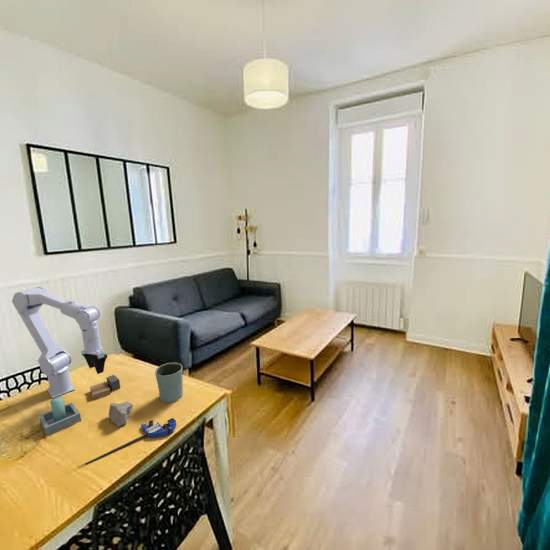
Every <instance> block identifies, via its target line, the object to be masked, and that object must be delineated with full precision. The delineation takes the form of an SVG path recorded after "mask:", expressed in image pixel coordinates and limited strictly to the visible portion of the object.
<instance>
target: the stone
mask: <svg viewBox="0 0 550 550" xmlns="http://www.w3.org/2000/svg"><path fill="white" fill-rule="evenodd" d="M133 407H134V404H133V403H132V402H129V401H124V402H119V403H115V402H110V405H109V409H108V410H109V411H108V418H109V419H110V420H111V422H113V424H116V425H115V426H116V427H121V426H123V425H126V424H127V423H128V418H129V417H130V416H131V412H132V409H133Z"/></svg>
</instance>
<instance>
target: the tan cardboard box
mask: <svg viewBox="0 0 550 550" xmlns="http://www.w3.org/2000/svg"><path fill="white" fill-rule="evenodd" d="M89 390H90V393H91V396H92V400H94V401H95V400H98V399H100V398H101V399H102V398H103V397H107V396H110V395H111V394H112V393H111V389H110V388H109V386H108V384H107V381H104V382H100V383H97V384H94V385H90V386H89Z"/></svg>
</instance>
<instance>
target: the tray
mask: <svg viewBox="0 0 550 550" xmlns="http://www.w3.org/2000/svg"><path fill="white" fill-rule="evenodd" d="M64 407H65V412H66V417H67V418H64V419H62V420H60V421H57V422H55V423H54V418H53V413H52V409H51V410H49V411H46V412H44V413H41V414H39V415H38V418H39V423H40V425H41V427H42V429H43V431H44V432H45V435H46V436H47V437H48V436H51V435H53V434H54V433H57V432H59V431H61V430H63V429H66V428H68V427H70V426H73V425H75V424H77V423H80V422H81V421H82V417H81V412H79V410H78V408H77V406H76V405H74V403H73V402H68V403H67V404H64Z"/></svg>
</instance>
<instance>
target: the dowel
mask: <svg viewBox="0 0 550 550" xmlns="http://www.w3.org/2000/svg"><path fill="white" fill-rule="evenodd" d="M49 403H50V408H51V410H52V413H53V418H54V423H55V422H57V421H60V420H62V419H64V418H67V417H66V412H65V407H64V405H65V402H64V397H63V396H57V397H54V398H52V399H51V400H50V402H49Z"/></svg>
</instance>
